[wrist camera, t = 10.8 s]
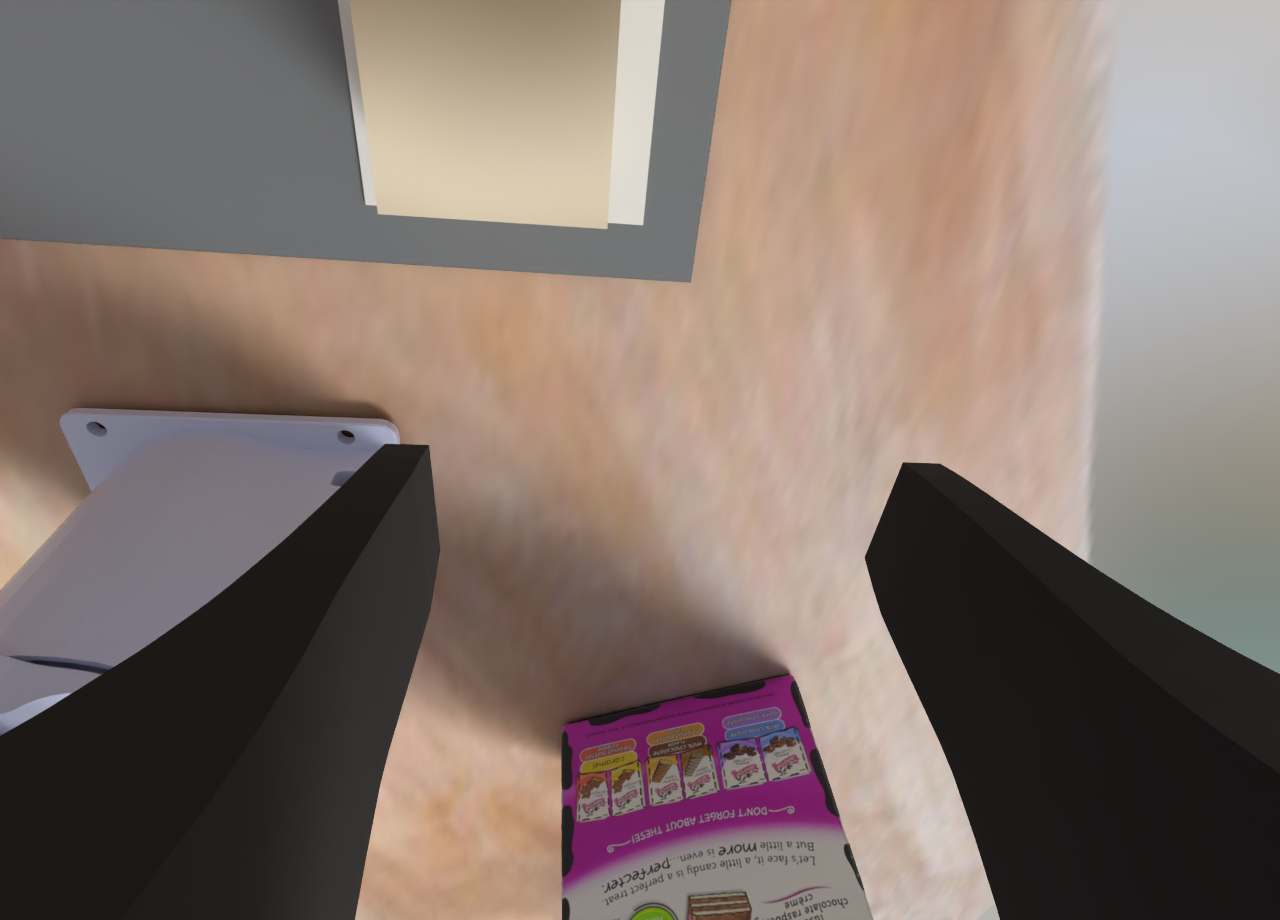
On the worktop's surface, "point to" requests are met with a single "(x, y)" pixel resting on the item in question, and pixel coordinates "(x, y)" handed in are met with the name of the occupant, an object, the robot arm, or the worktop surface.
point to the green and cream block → (490, 107)
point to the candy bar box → (704, 813)
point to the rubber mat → (312, 138)
